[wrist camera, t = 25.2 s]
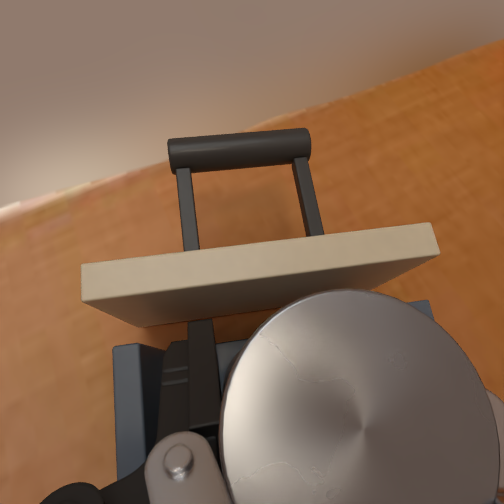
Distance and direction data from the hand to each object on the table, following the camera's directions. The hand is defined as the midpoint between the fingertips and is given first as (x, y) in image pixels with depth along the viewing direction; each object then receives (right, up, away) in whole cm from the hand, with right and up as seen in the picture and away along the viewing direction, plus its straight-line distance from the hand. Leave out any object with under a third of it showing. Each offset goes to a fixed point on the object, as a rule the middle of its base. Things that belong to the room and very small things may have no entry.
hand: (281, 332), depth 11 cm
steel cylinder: (0, -3, +3) cm, 4 cm away
